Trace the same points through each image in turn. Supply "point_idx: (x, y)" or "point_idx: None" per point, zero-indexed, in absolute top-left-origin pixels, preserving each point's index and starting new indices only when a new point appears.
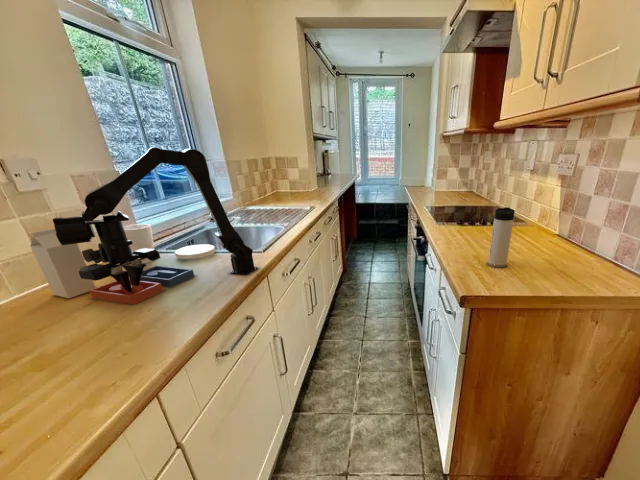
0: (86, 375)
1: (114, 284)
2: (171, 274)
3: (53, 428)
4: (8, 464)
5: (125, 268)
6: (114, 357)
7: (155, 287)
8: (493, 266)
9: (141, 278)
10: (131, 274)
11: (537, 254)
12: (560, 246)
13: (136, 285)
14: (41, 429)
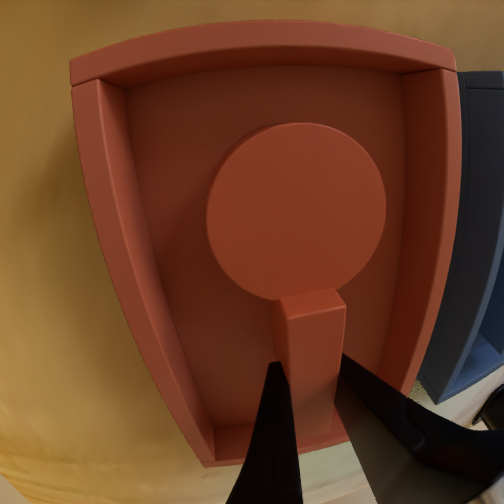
0: (52, 492)
1: (352, 59)
2: (500, 343)
3: (37, 498)
4: (19, 492)
5: (445, 484)
6: (84, 500)
7: None
8: None
9: (490, 194)
10: (389, 463)
11: None
12: None
13: (335, 404)
14: (29, 493)
